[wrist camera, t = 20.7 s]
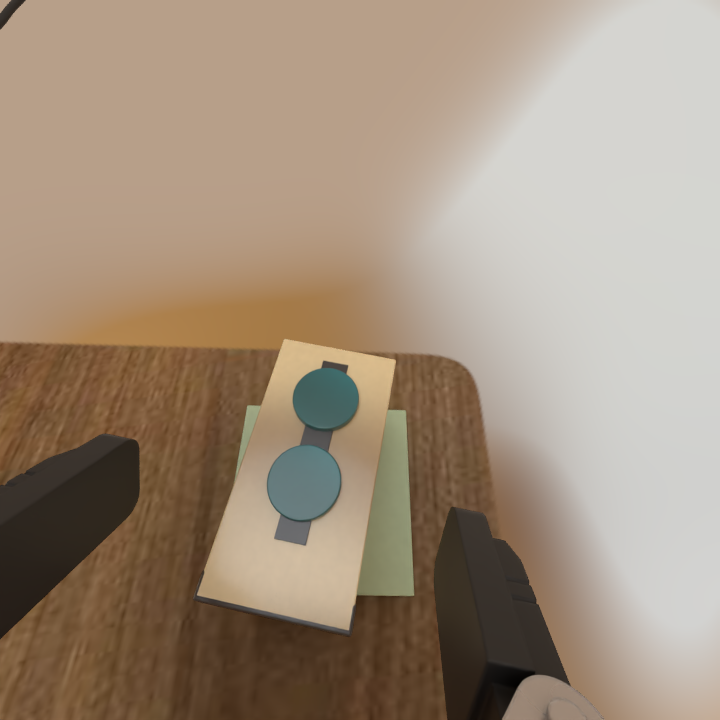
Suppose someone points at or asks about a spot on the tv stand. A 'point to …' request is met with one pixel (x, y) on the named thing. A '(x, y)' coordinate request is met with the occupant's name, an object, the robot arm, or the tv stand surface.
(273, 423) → the holder
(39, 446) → the tv stand surface
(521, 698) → the robot arm
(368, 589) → the pad
